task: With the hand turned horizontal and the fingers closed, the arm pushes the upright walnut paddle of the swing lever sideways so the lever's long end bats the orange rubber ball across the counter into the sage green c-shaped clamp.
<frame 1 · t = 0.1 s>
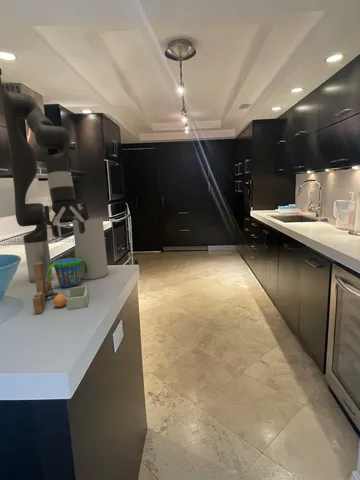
hand: (69, 235, 99), 22 cm above the countertop, tool pointing down, fingers open, 8 cm apart
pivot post: (47, 297, 106), on the countertop
ball: (60, 300, 96), point 2 cm above the countertop
sage green c-shaped clamp: (78, 301, 99), on the countertop
stacking bear: (86, 268, 146), on the countertop
snack cup: (69, 285, 119), on the countertop
lever: (41, 283, 98), point 7 cm above the countertop, hinge at 0.0°
cylinder vase: (93, 276, 131), on the countertop
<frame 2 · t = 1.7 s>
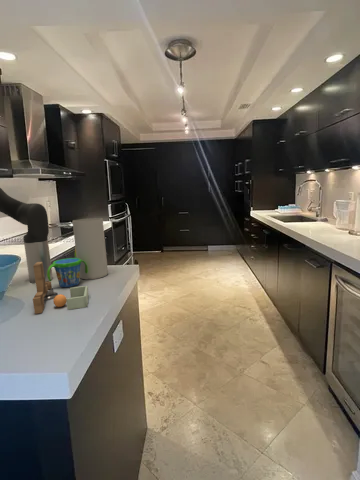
nothing on the countertop moved.
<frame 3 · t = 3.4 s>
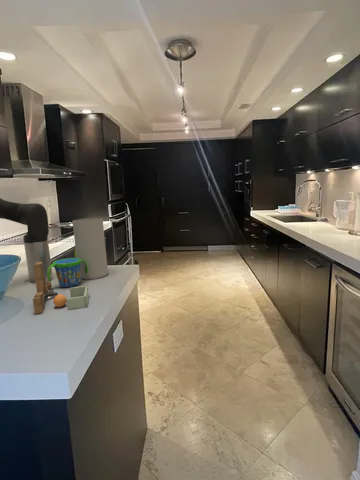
nothing on the countertop moved.
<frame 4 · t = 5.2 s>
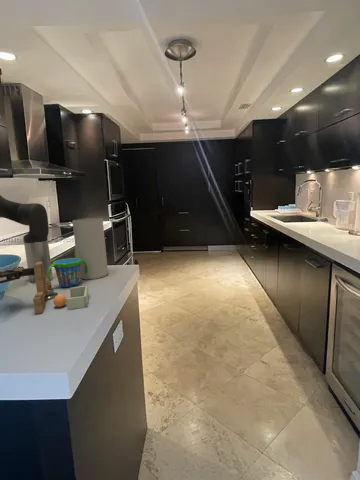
hand: (36, 271, 97), 12 cm above the countertop, tool horizontal, fingers closed
lever: (41, 283, 98), point 7 cm above the countertop, hinge at 0.3°, touching gripper
everything else where it was.
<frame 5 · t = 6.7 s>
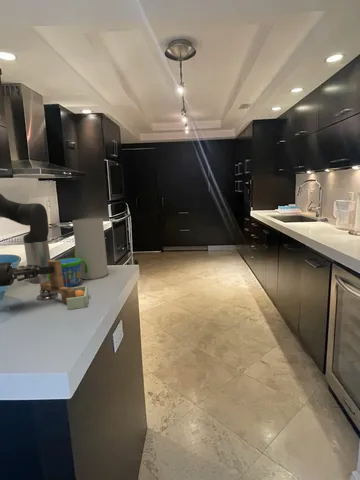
hand: (52, 269, 98), 11 cm above the countertop, tool horizontal, fingers closed
ball: (79, 295, 99), point 2 cm above the countertop, tilted 163°, touching lever, sage green c-shaped clamp
lever: (56, 280, 101), point 7 cm above the countertop, hinge at 39.1°, touching ball, gripper
everything else where it was.
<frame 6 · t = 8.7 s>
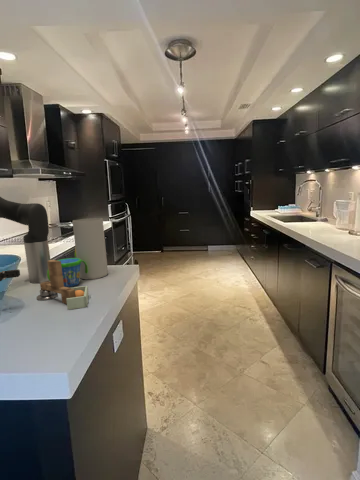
hand: (19, 273, 96), 12 cm above the countertop, tool horizontal, fingers closed
lever: (56, 280, 101), point 7 cm above the countertop, hinge at 39.0°, touching ball
everything else where it was.
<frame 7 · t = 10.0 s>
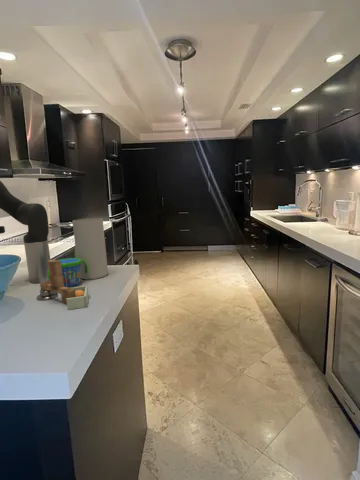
hand: (4, 229, 93), 26 cm above the countertop, tool horizontal, fingers closed
nothing on the countertop moved.
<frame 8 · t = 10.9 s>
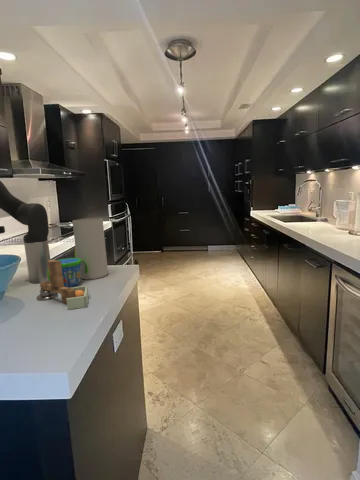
hand: (4, 229, 93), 26 cm above the countertop, tool horizontal, fingers closed
nothing on the countertop moved.
at the end: ball inside the target area on the sage green c-shaped clamp (0.5 cm from its centre), point 2.0 cm above the sage green c-shaped clamp's base; lever at +39° (first picture: +0°) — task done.
